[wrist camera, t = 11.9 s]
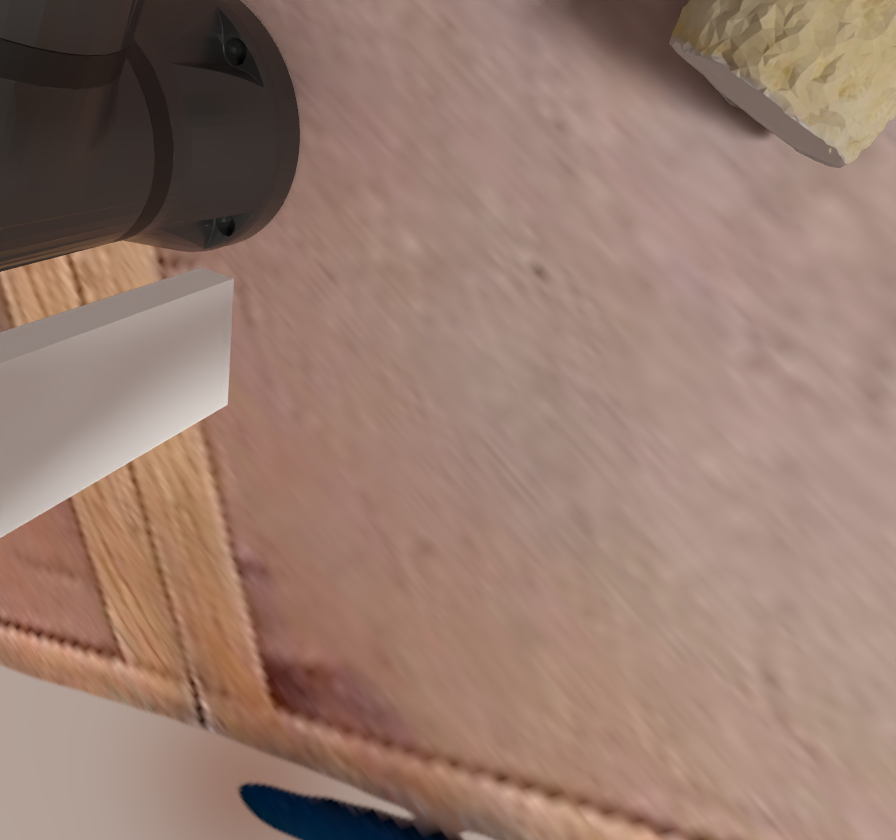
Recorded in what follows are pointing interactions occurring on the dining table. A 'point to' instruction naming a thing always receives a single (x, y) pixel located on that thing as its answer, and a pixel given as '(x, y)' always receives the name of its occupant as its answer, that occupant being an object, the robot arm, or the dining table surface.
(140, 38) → the robot arm
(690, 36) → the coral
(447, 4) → the dining table surface
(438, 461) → the dining table surface
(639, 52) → the dining table surface
